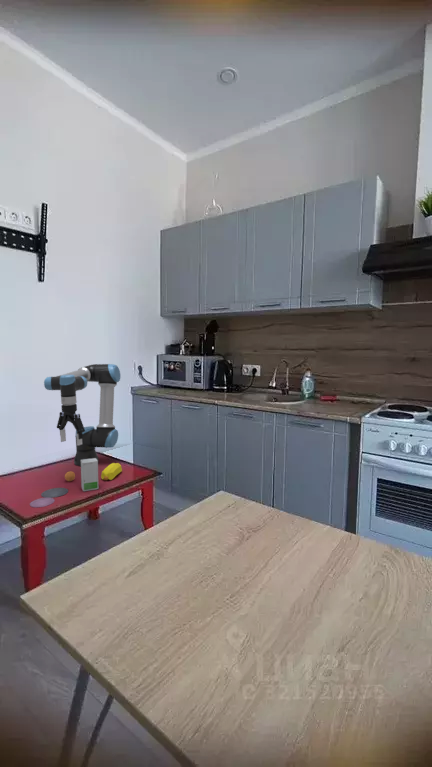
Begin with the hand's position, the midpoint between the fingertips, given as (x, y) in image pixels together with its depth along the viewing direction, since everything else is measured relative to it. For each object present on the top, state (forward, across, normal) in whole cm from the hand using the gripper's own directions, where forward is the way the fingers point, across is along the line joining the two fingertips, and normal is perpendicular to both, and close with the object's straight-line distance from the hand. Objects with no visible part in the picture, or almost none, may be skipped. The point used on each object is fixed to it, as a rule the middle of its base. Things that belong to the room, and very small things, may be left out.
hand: (71, 443), depth 199 cm
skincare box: (+24, +10, +2) cm, 26 cm away
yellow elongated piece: (+25, +6, +22) cm, 34 cm away
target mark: (+24, -1, -11) cm, 26 cm away
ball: (+22, -9, +4) cm, 24 cm away
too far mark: (+24, +4, -22) cm, 32 cm away
